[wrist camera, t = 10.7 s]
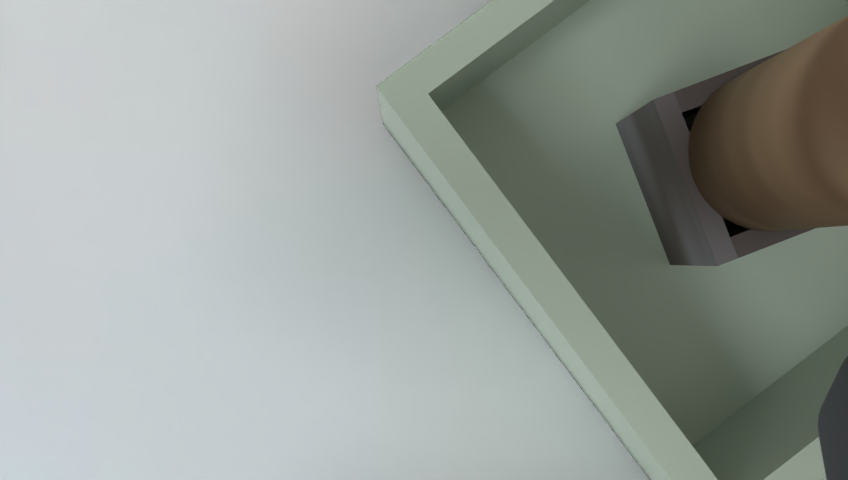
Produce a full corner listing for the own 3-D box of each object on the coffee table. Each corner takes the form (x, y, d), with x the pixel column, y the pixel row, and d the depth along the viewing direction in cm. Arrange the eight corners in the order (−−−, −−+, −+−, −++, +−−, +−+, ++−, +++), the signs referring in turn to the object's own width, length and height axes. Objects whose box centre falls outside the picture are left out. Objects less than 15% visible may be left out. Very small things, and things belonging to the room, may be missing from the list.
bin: (1011, 215, 21) (1177, 204, 16) (657, 489, 20) (727, 554, 16) (741, -142, 21) (832, -251, 16) (383, 123, 20) (375, 86, 16)
